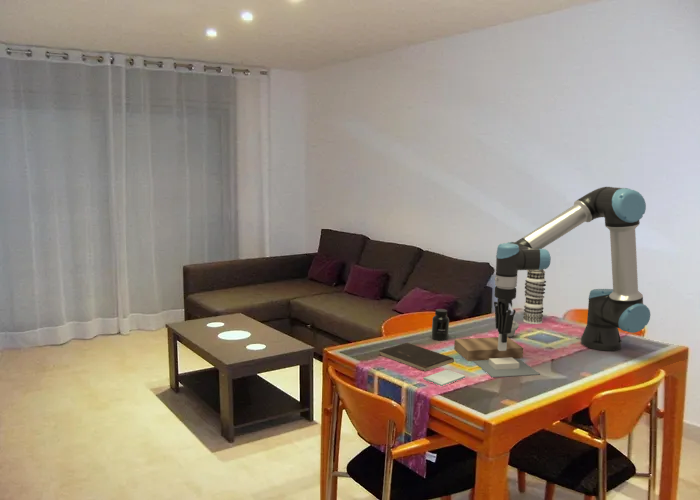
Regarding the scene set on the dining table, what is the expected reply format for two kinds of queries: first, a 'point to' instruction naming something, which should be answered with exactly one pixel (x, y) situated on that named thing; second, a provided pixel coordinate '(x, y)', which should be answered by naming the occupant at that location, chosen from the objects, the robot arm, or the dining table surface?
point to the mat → (521, 371)
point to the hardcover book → (416, 356)
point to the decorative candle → (534, 296)
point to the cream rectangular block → (503, 363)
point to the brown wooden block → (486, 349)
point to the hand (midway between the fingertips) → (501, 350)
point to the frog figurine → (513, 329)
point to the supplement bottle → (440, 325)
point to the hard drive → (444, 377)
